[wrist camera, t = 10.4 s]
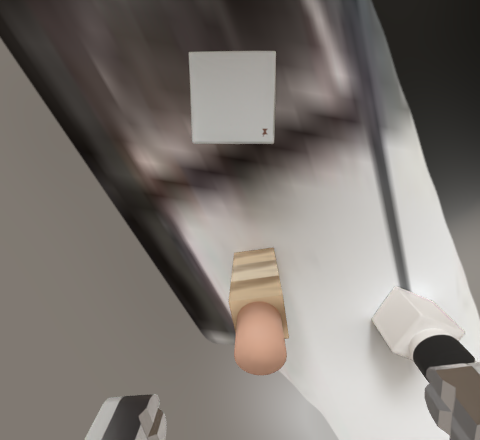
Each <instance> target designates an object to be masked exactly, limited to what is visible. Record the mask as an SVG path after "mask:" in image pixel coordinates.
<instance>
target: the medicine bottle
mask: <svg viewBox="0 0 480 440" xmlns="http://www.w3.org/2000/svg"><path fill="white" fill-rule="evenodd" d="M372 321H373V323H374V325H375V326H376V328H377V329H378V331H379V332H380V334H381V336H382V337H383V339H384V340H385V342H386V344H387V345H388V347H389V348H390V350H391V351H392V352H393V353H394V354H397V355H400V356H402V357H405V358H408V359H410V360H413V361H414V362H415V364H416V365H417V367H418V368H419V370H420V371H421V372H422V374H423V375H424V377H425V378H426V370H427V369H428V368H429V367H435V366H444V365H453V364H462V363H464V364H467V363H476V360H475V358H474V357H473V356H472V355H471V354H470V353H469V352H468V351H467V350H466V349H465V347H464V346H463V345H462V344H461V343H460V342H459V340H460V339H461V338H462V337H463V335H464V334H465V331H464V330H463V329H462V328H461V327H460V326H459V325H458V324H457V323H455V322H454V321H453V320H452V319H451V318H450V317H449V316H448V315H447V314H446V313H445V312H444V311H443V310H442V309H441V308H440V307H439V306H438V305H437V304H436V303H434V302H433V301H432V300H429V299H427V298H424V297H422V296H419V295H417V294H414V293H412V292H409V291H407V290H405V289H402V288H400V287H397V286H395V287H394V288H393V290H392V291H391V292H390V294H389V295H388V296H387V298H386V299H385V301H384V302H383V303H382V305H381V306H380V308H379V309H378V310H377V312H376V313H375V315H374V316H373V317H372ZM426 379H427V378H426ZM427 381H428V379H427ZM428 382H429V381H428ZM429 383H430V382H429Z"/></svg>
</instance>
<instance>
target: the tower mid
mask: <svg viewBox="0 0 480 440" xmlns="http://www.w3.org/2000/svg"><path fill="white" fill-rule="evenodd" d="M271 276H279V273H278V268H277V263H276V260H272V261H264V262H257V263H249V264H241V265H234V266H233V268H232V276H231V282H235V281H242V280H249V279H257V278H264V277H271Z"/></svg>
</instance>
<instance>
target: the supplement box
mask: <svg viewBox="0 0 480 440" xmlns="http://www.w3.org/2000/svg"><path fill="white" fill-rule="evenodd" d="M189 69H190V96H191V126H192V142H193V143H194V144H273V143H274V131H275V89H276V51H207V52H189Z"/></svg>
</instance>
